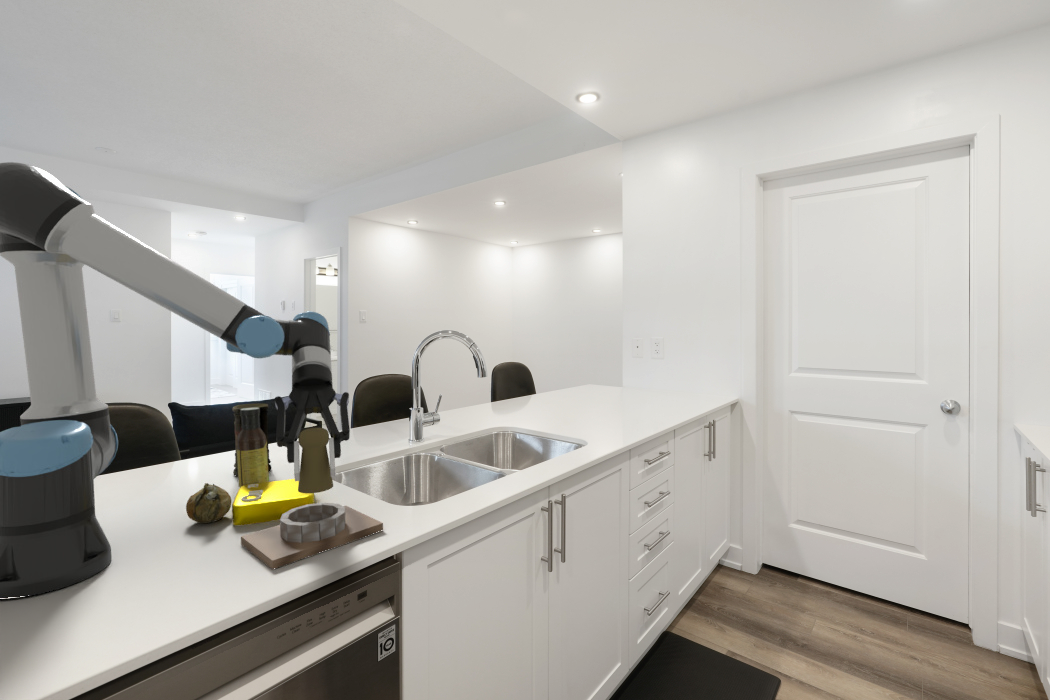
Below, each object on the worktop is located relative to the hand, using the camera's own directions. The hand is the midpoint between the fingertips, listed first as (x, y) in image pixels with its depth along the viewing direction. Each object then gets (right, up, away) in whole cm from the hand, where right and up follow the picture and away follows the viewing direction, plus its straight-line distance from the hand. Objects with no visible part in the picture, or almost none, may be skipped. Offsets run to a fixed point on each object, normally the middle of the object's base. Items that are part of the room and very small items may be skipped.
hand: (315, 474), depth 87 cm
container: (-36, -11, +45) cm, 59 cm away
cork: (-1, -4, +4) cm, 5 cm away
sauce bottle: (-26, -12, +29) cm, 41 cm away
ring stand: (-2, -12, +4) cm, 13 cm away
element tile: (-16, -12, +19) cm, 28 cm away
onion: (-26, -12, +12) cm, 32 cm away
